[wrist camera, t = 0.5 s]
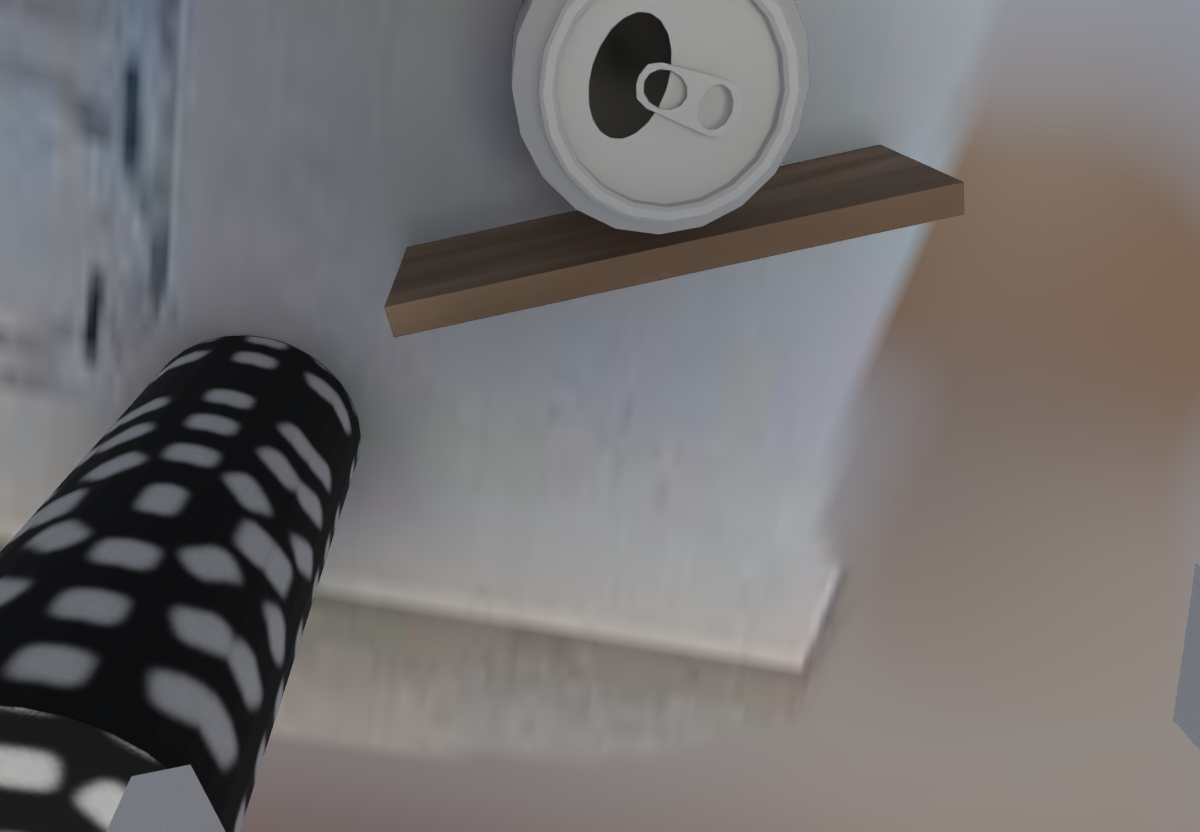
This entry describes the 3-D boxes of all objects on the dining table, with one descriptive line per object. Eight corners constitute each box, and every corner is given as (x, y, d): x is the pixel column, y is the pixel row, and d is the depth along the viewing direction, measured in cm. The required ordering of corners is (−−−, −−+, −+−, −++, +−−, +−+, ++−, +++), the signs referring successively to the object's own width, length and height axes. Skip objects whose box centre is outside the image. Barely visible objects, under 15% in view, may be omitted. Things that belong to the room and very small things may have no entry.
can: (546, -100, 30) (566, -144, 19) (757, -22, 32) (884, -22, 21) (486, 128, 33) (475, 201, 22) (682, 190, 35) (760, 286, 24)
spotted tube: (155, 312, 35) (-227, 671, 17) (377, 362, 36) (248, 739, 18) (136, 499, 38) (-200, 970, 20) (342, 538, 40) (201, 1005, 22)
